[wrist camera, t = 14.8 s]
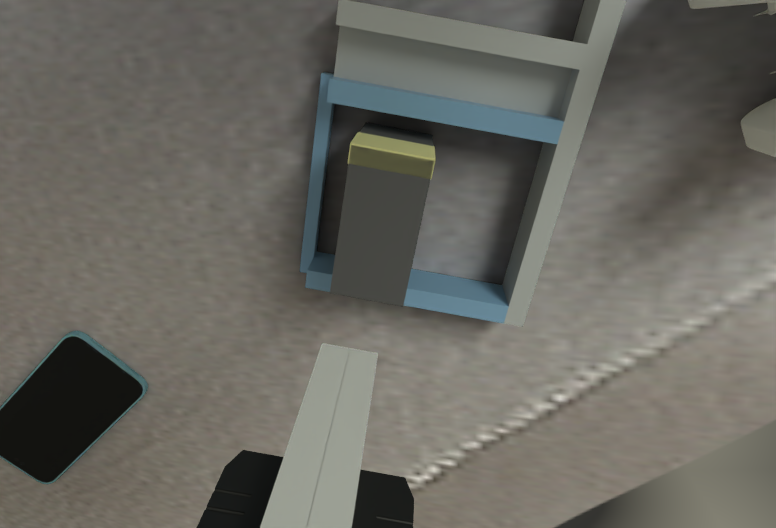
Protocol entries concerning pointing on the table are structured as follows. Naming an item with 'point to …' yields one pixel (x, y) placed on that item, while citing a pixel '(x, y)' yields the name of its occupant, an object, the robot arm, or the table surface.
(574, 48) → the grey frame
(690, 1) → the cable organizer
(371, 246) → the yellow-capped grey block
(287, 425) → the table surface
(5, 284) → the table surface
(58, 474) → the smartphone
